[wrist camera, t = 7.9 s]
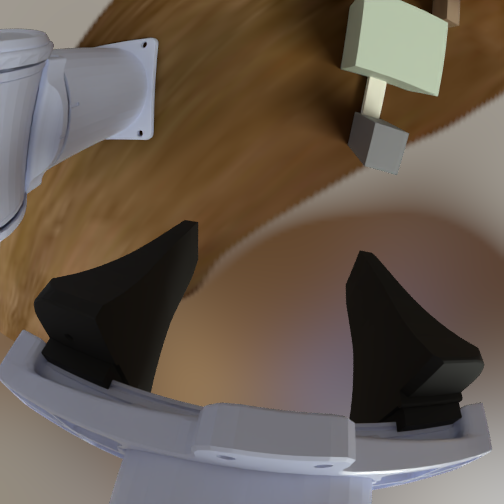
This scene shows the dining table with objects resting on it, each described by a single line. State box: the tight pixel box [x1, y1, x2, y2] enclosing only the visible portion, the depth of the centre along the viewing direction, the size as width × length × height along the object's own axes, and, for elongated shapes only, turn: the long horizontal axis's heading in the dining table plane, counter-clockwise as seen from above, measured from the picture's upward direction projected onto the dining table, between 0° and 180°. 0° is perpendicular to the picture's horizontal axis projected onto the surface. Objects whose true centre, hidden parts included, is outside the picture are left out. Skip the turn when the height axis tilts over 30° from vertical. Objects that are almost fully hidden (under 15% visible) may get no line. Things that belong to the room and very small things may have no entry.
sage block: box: [341, 0, 448, 175], centre depth 12 cm, size 10×5×5 cm, turn 173°
